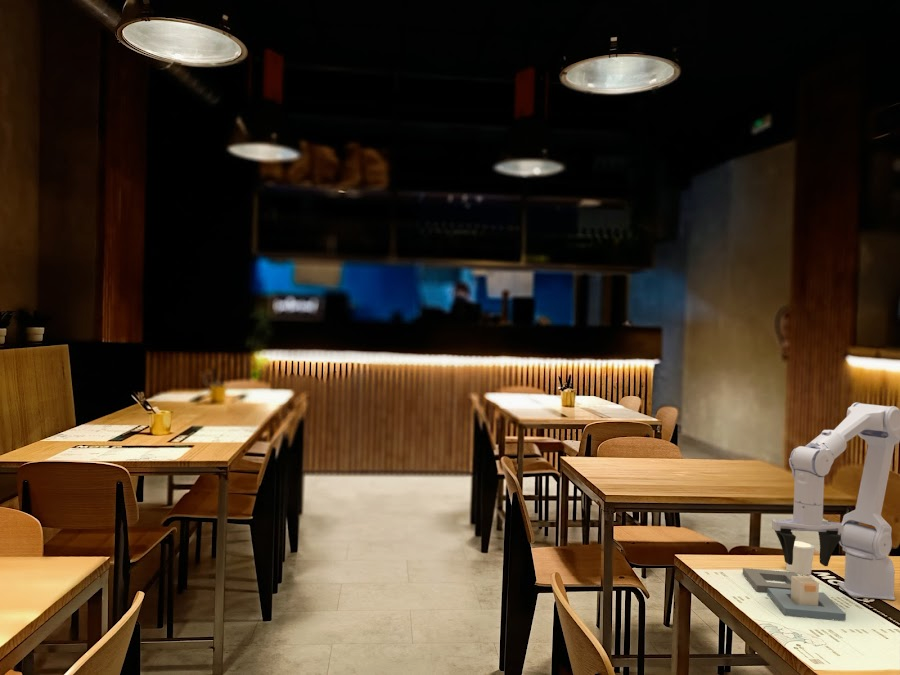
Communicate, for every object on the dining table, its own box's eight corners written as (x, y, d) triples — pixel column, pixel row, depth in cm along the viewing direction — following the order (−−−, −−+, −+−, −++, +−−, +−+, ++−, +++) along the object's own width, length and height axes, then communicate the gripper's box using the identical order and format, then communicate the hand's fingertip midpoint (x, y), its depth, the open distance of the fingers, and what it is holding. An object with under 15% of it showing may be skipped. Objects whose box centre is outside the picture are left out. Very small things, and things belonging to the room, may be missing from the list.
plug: (808, 603, 151) (809, 576, 151) (819, 612, 146) (820, 584, 146) (790, 602, 151) (791, 575, 151) (801, 611, 146) (802, 583, 146)
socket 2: (823, 599, 154) (823, 592, 154) (845, 621, 142) (845, 613, 142) (767, 594, 156) (767, 587, 156) (784, 615, 144) (784, 608, 144)
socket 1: (794, 578, 167) (794, 572, 167) (812, 596, 155) (812, 590, 155) (742, 573, 169) (742, 567, 169) (756, 591, 157) (756, 585, 157)
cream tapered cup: (806, 567, 175) (807, 540, 175) (818, 577, 169) (819, 548, 168) (779, 565, 176) (780, 538, 176) (789, 575, 169) (790, 547, 169)
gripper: (832, 499, 153) (830, 559, 153) (766, 496, 153) (764, 556, 153) (849, 507, 145) (847, 570, 146) (781, 504, 146) (778, 567, 146)
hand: (806, 564), depth 149 cm, fingers open, 7 cm apart
